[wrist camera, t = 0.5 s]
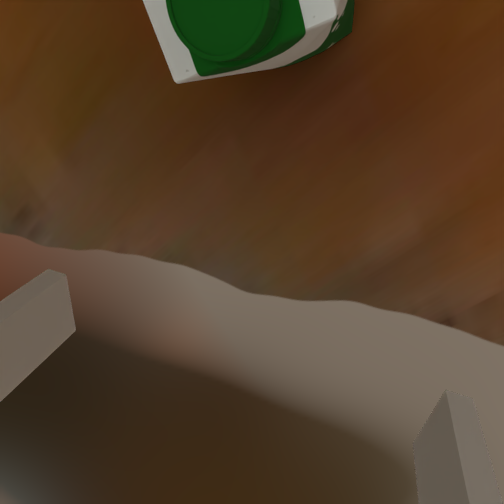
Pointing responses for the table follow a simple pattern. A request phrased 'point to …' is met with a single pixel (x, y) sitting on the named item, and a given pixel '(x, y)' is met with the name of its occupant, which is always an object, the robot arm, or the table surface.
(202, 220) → the table surface
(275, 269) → the table surface
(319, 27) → the milk carton
